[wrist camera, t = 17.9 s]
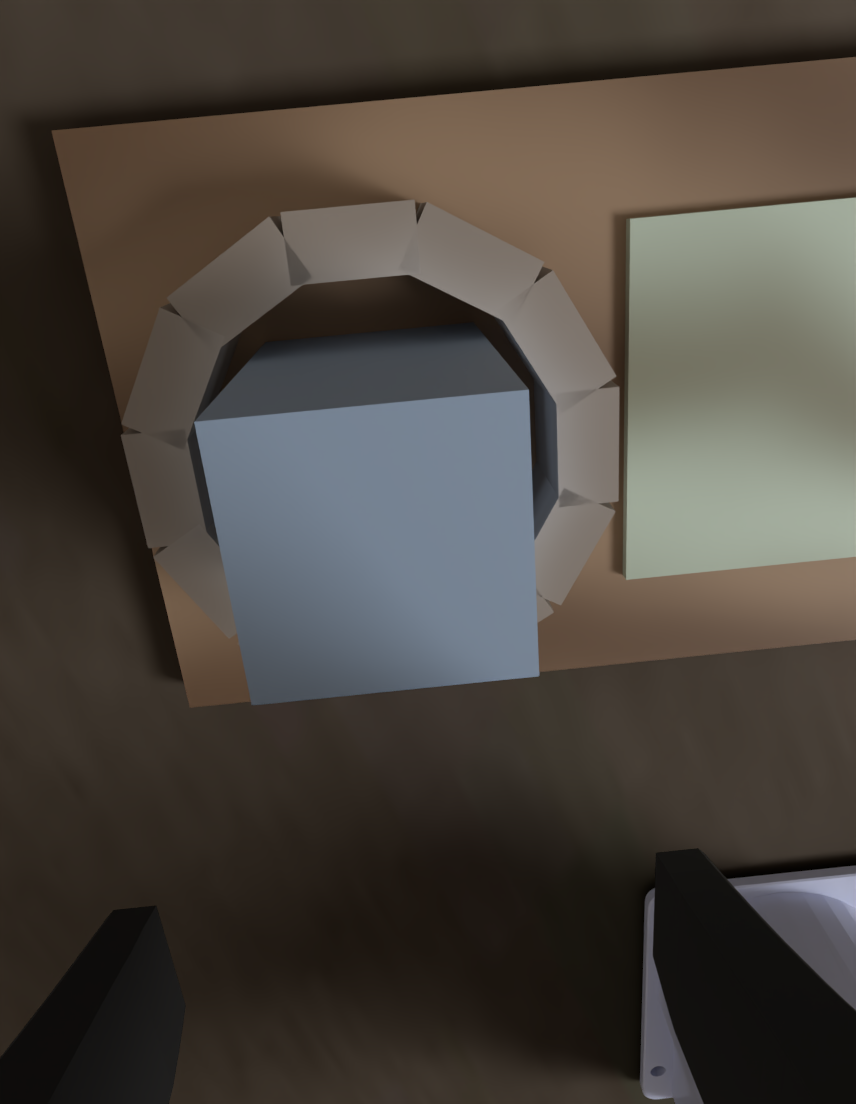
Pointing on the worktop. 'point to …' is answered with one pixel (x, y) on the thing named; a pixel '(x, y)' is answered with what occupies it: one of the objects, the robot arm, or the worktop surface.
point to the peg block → (375, 513)
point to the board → (509, 192)
